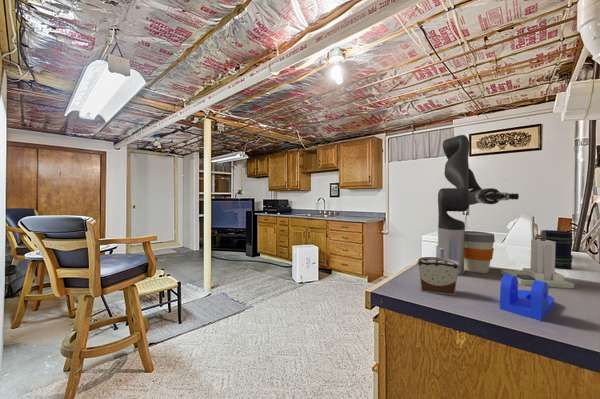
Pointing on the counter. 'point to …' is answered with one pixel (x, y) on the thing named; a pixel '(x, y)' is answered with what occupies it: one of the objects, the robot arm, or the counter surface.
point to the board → (538, 278)
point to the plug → (543, 256)
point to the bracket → (525, 298)
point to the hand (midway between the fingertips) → (505, 196)
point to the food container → (438, 274)
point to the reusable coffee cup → (478, 251)
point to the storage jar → (561, 247)
